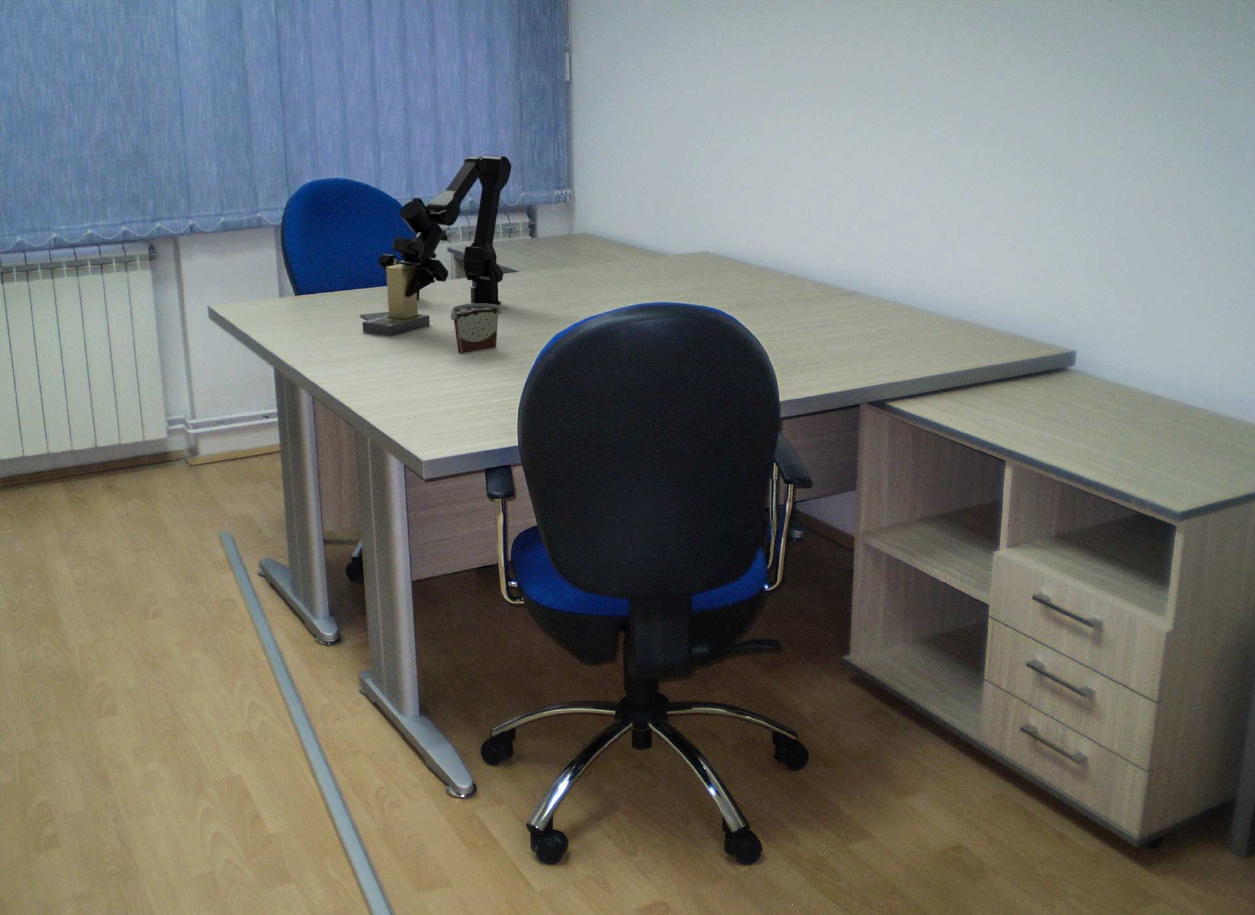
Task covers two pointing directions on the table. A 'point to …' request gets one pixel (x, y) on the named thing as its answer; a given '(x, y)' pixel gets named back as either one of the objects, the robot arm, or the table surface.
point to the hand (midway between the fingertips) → (398, 295)
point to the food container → (475, 326)
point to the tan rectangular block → (401, 292)
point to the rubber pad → (373, 315)
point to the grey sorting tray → (394, 325)
